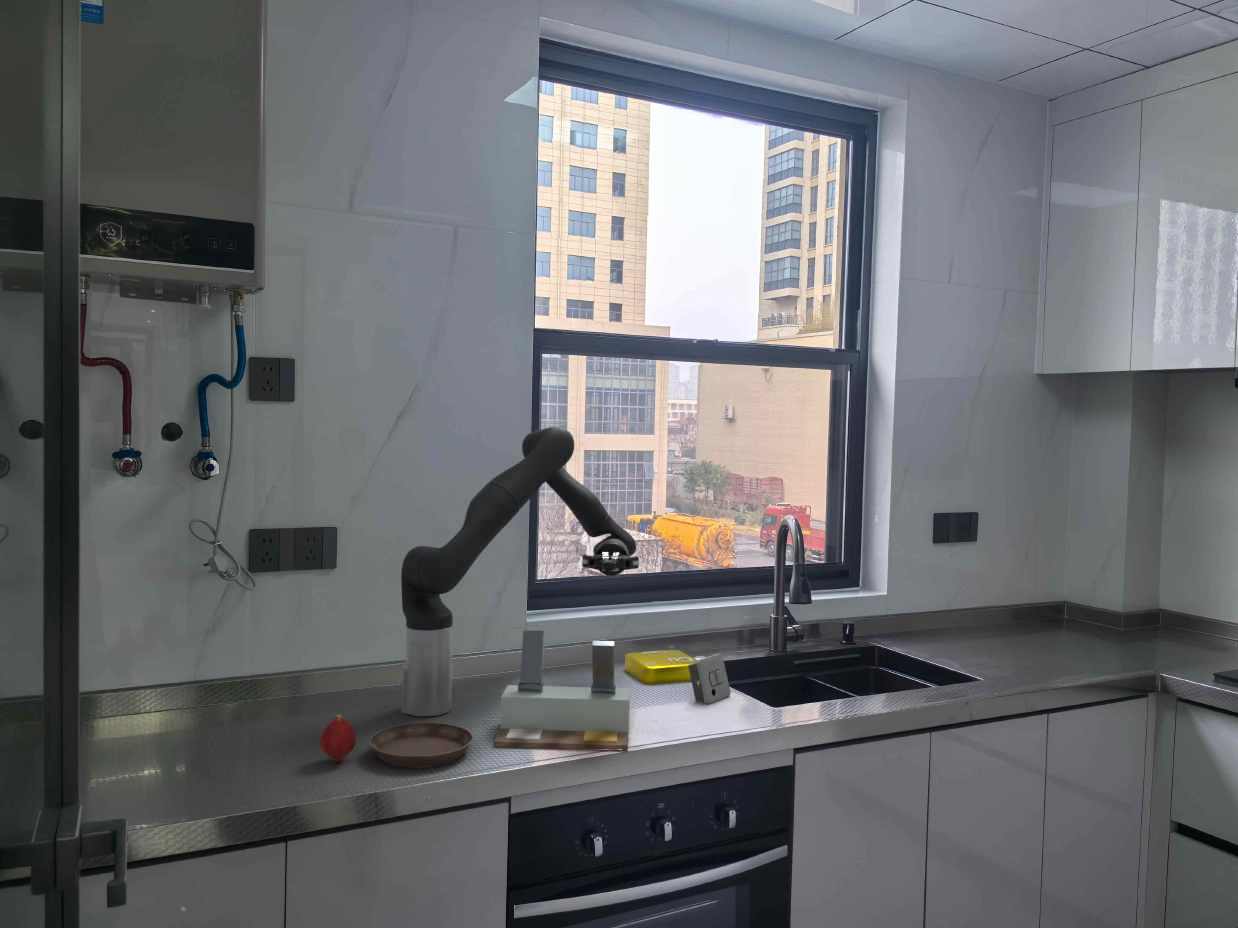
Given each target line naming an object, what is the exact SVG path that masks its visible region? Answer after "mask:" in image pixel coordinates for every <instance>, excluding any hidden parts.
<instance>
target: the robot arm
mask: <svg viewBox="0 0 1238 928" xmlns="http://www.w3.org/2000/svg"><path fill="white" fill-rule="evenodd" d="M521 447H522V448H521V451H522V454H523V455H522V456H523V457H524V458H523V459H522V460H521V461H519V462H517V463H516V464H514V465H512V466H511V467H509V468H507V469H506V470H504V471H503V472H501V473H499V474H497V475H496V476H495V477H493V478H492V479H491V480H489V482H487V483H486V484H485V485H484V486H483V488H481V489H480V490H479V491H478V493H477V494H475V496H473V497H472V499H471V501H470V502H469V504H468V505H467V510H466V513H465V516H464V517H465V518H464V522H463V524H462V527H461V528H460V529H459V531H458V532H457V533H456V534H455V535H454V536H453V537H452V538H451V539H450V540H448V542H447V543H446V544H444V545H443V546H441V547H435V546H430V545H429V546H427V545H419V546H414V547H413V548H411V549H410V550H409V551H408V552H407V553H406V555H405V557H404V558H403V561H402V565H401V571H400V572H401V573H400V576H401V578H400V579H401V580H400V581H401V582H400V583H401V584H400V585H401V586H400V587H401V606H402V612H403V615H404V617H405V622H406V623H405V626H406V627H405V664H404V665H402V672H401V673H402V680H401V681H402V682H401V684H402V685H401V686H402V687H401V714H405V715H406V714H407V715H409V716H414V717H435V716H441V715H444V714H448V713H449V712H450V711H452V699H453V698H452V689H453V688H452V687H453V683H452V682H453V681H452V680H453V678H452V677H453V676H452V675H453V623H454V621H453V619H454V617H453V616H454V615H453V612H452V610H450V609H449V608H448V606H446V605H445V604H444V602H443V601H442V599H441V596H440V595H443V594H448V593H449V592H451V591H453V590H454V589H455V588H456V587H457V586H458V584H459V583H460V582H461V580H462V579H463V578H464V577H465V575H466V574H467V572H468V571H469V570H470V569H471V567H472V566H473V564H474V563H475V562H476V560H478V557H479V556H480V555H481V554H482V552H483V551H484V550H485V549H486V548H487V547H488V546H489V544H490V543H491V542H492V541H493V540H494V539H495V538H496V536H497V535H498V534H500V532H501V531H502V530H503V529H504V528H505V527H506V526H507V525H508V524H509V523H510V522H511V520H513V518H514V517H515V516H516V515H517V514H518V513H519V512H520V510H521V509H522V508H523V507H524V505H526V503H528V502H529V500H531V498H532V497H533V496H534V495H535V494H536V493H537V491H538V490H539V489H540V488H541V487H542V486H543V484H544V483H546V484H547V485H548V486H549V487H550V489H552V490H553V491H554V493H555V494H556V495H557V496H558V497H559V498H560V499H561V500H562V502H563V503H564V504H565V505H566V506H567V507H568V509H569V510H570V512H571V513H572V514H573V516H574V517H575V518H576V520H577V522H578V523H579V525H580V526H581V527H582V529H583V530H584V531H585V533H586V534H587V535H588V537H590V538H598V537H602V536H604V535H608V536H607V537H605V538H603V539H601V540H600V541H599V542H597V543H596V544H595V545H594V546H593V549H592V552H593V555H588V554H582V557H581V558H582V559H581V560H582V561H581V567H582V568H586V569H587V568H588V569H593V570H596V571H598V572H599V573H601V574H602V575H604V576H607V577H608V576H609V577H616V576H618V575H621V574H622V573H623V572H624V571H627V570H634V569H635V570H637V569H639V568H640V567H639V565H640V564H639V563H640V556H638V555H635V556H633V555H634V554H635V553H636V551H637V543H636V540H635V539H634V537H633V535H631V534H630V533H629V532H628V531H627V530H626V529H624V528H623V527H622V526H620V525H619V524H618V523H617V522H616V521H615V520H614V519H613V518H612V517H611V515H610V514H609V512H608V511H607V509H606V508H605V507H604V505H603V504H602V502H601V501H600V499H599V498H598V497H597V496H596V495H595V493H594V492H592V491H591V490H590V489H589V488H588V487H586V486H585V485H583V484H582V483H581V482H580V481H578V480H576V479H575V478H574V477H573V476H572V475H571V474H570V473H569V472H568V471H567V470H566V469H565V468H564V466H565V465H566V464H567V463H568V462H569V461H570V460H571V459H572V456H573V454H574V451H575V439H574V436H573V435H572V433H571V432H570V431H569V430H568V429H567V428H564V427H561V426H551V427H550V426H549V427H547V428H542V429H538V430H535V431H532V432H529V433H528V434H526V436H525V437H524V439H523V440H522V444H521Z"/></svg>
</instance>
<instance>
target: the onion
mask: <svg viewBox="0 0 1238 928" xmlns="http://www.w3.org/2000/svg"><path fill="white" fill-rule="evenodd" d="M356 741H357V734H356V731H355V728H354V726H353V725H352V724H351V723H350V722H349V721H347V720H346V719H344V718H343V716H342V715H341V714H336V715H335V716H334V717H333V720H332V721H330V722H328V723H327V725H326V726H324V729H323V730H322V732H321V734H320V739H319V745H320V748H321V750H322V752H323V753H324V754H325V755H326V756H327V757H330V759H332V761H334V762H336V763H337V762H338V763H339V762H340V761H343V760H344V758H346V757H348V756H349V754H350V753H351V752H352V751H353V750H354V747H355V746H356V743H357V742H356Z"/></svg>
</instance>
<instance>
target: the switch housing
mask: <svg viewBox="0 0 1238 928" xmlns="http://www.w3.org/2000/svg"><path fill="white" fill-rule="evenodd" d="M630 691H631V689H630V688H629V687H628V688H627V687H626V688H625V687H624V688H623V687H616V692H615V693H591V686H588V687H586V686H556V685H555V686H554V685H553V686H552V685H543V691H518V685H515V684H508V685H507V686H506V688H505V690H504V691H503V693H502V695H501V696H500V729H542V730H564V731H612V732H630V708H631V707H630V706H631V705H630V703H631V701H630V700H631V698H630V697H631V693H630Z"/></svg>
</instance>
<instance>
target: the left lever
mask: <svg viewBox="0 0 1238 928" xmlns="http://www.w3.org/2000/svg"><path fill="white" fill-rule="evenodd" d="M522 631H523V632H522V643H521V644H522V646H521V660H520V661H521V663H520V675H519V676H520V678H519V679H520V680H519V682H518V691H543V686H544V683H543V682H542V681H543V665H544V663H543V662H544V649H545V648H544V647H545V646H544V645H545V630H528V629H527V630H522Z"/></svg>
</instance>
